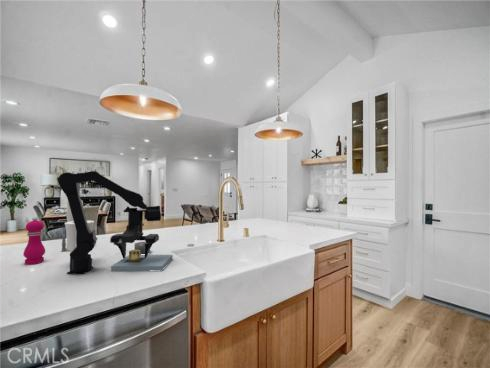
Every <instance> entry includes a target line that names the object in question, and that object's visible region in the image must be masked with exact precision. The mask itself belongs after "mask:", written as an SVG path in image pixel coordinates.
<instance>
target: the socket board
mask: <svg viewBox="0 0 490 368" xmlns="http://www.w3.org/2000/svg"><path fill="white" fill-rule="evenodd" d="M173 256H174V254H148V256H147V258H145V255H140V263H129V254H128V255H127V256H125V258H123V257H122V258H121V259H120V260H119V261H117V262H116V263H114V264H112V265H111V266H110V267H111V268H110V269H111V270H110V272H151V271H150V270H162V271H164V269H165V268H166V267H167V266H168V265H169V264H168V263H171V261H172V260H173V259H172V258H173ZM171 259H172V260H171ZM170 260H171V261H170ZM167 264H168V265H167ZM166 265H167V266H166ZM165 266H166V267H165ZM164 267H165V268H164ZM163 268H164V269H163Z"/></svg>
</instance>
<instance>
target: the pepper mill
mask: <svg viewBox="0 0 490 368" xmlns="http://www.w3.org/2000/svg"><path fill="white" fill-rule="evenodd" d="M38 219H39V218H38V217H37V216H34V217H32V220H30V221H29V222H27V223H26V225H25V229H26V231H27V237H28V240H27V241H28V242H27V245H26V247H25V248H24V250H23V257H24V258H26V259H24V264H25V265H29V266H30V265H38V264H40V263H44V261H45V260H44V259H45V258H44V255H45V254H46V248H45V246H44V244H43V242H42V235H43V229H44V227H45V224H44V222H42V221H41V220H38Z"/></svg>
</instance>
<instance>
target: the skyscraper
mask: <svg viewBox="0 0 490 368" xmlns="http://www.w3.org/2000/svg"><path fill="white" fill-rule="evenodd" d="M81 202H82V206H83V207H84V201H83V200H82V199H81ZM66 219H67V221H66V222H71V221H74V220H73V216H72V213H71V209H70V206H69V202H68V200H67V201H66ZM63 229H66V228H65V226H64V227H63ZM62 232H63V233H62V236H61V237H62V242H61V251H60V253H65V252H66V253H67V252H70V248H69V243H68V236H67V235H66V230H62ZM66 237H67V238H66Z"/></svg>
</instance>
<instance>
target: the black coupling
mask: <svg viewBox="0 0 490 368" xmlns="http://www.w3.org/2000/svg"><path fill="white" fill-rule="evenodd" d="M145 243H147V242H146V241H138V242H134V250H140V255H141V254H145ZM149 252H151V250H150V251H149Z"/></svg>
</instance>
